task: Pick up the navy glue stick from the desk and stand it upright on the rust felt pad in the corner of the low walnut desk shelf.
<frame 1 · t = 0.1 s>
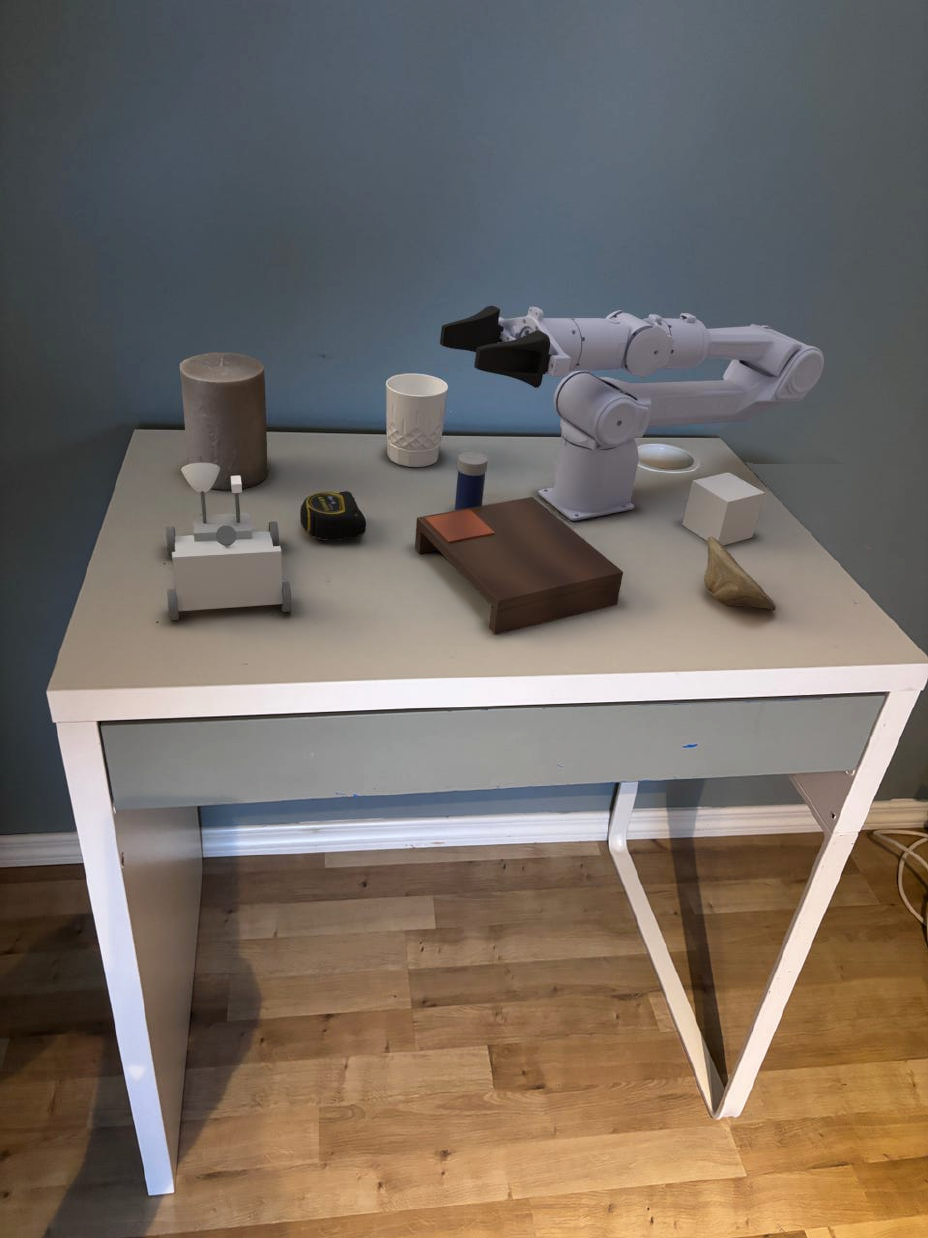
hand: (459, 346, 103), 22 cm above the table, tool horizontal, fingers open, 7 cm apart
pillar candle: (228, 474, 122), on the table
tape measure: (336, 531, 112), on the table
glue stick: (467, 515, 118), on the table
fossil: (732, 601, 106), on the table
toy car: (226, 575, 103), on the table
desk shelf: (512, 575, 107), on the table
white cube: (716, 532, 120), on the table
white cup: (413, 458, 130), on the table
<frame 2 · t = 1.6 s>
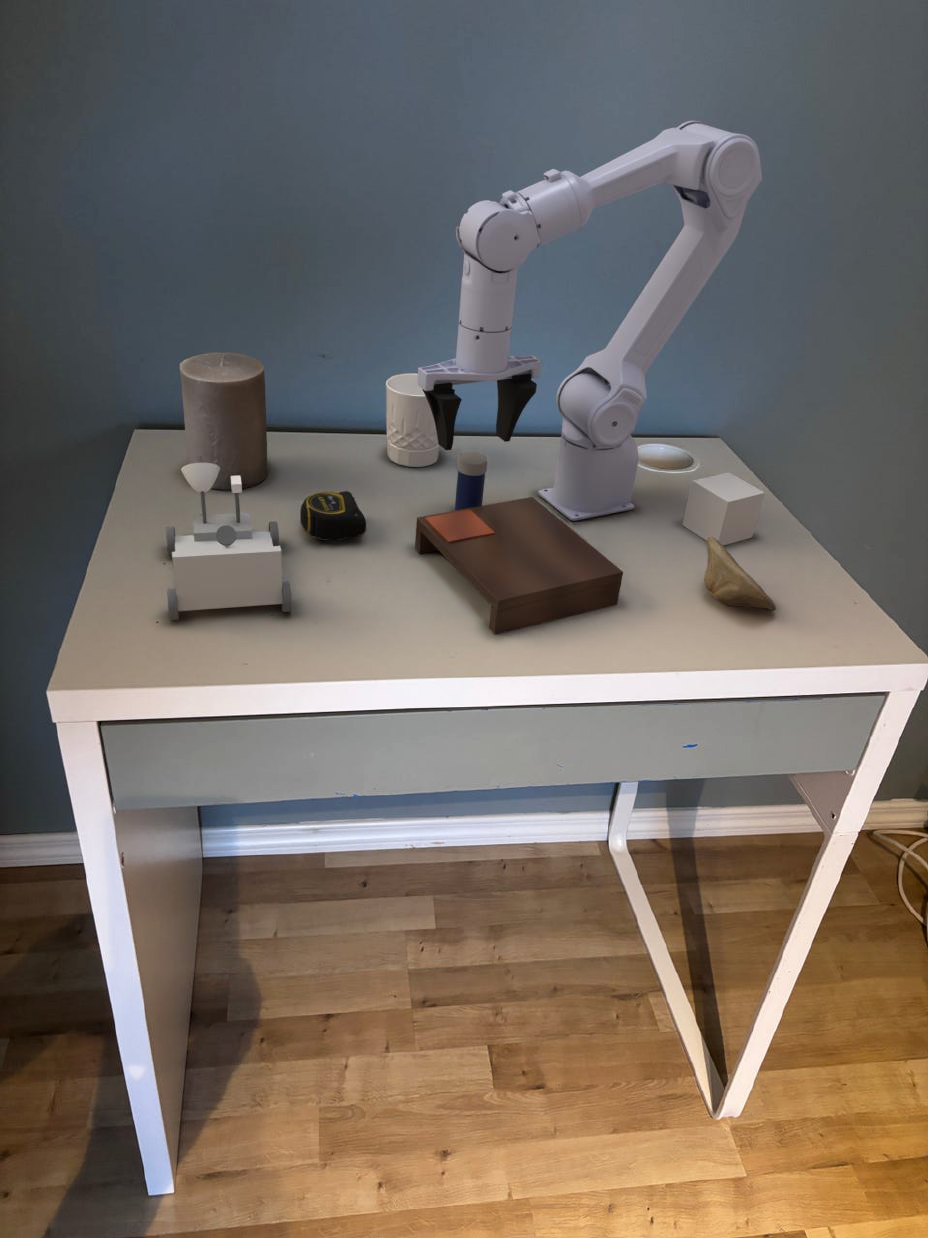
hand: (474, 442, 112), 9 cm above the table, tool pointing down, fingers open, 7 cm apart
nothing on the table moved.
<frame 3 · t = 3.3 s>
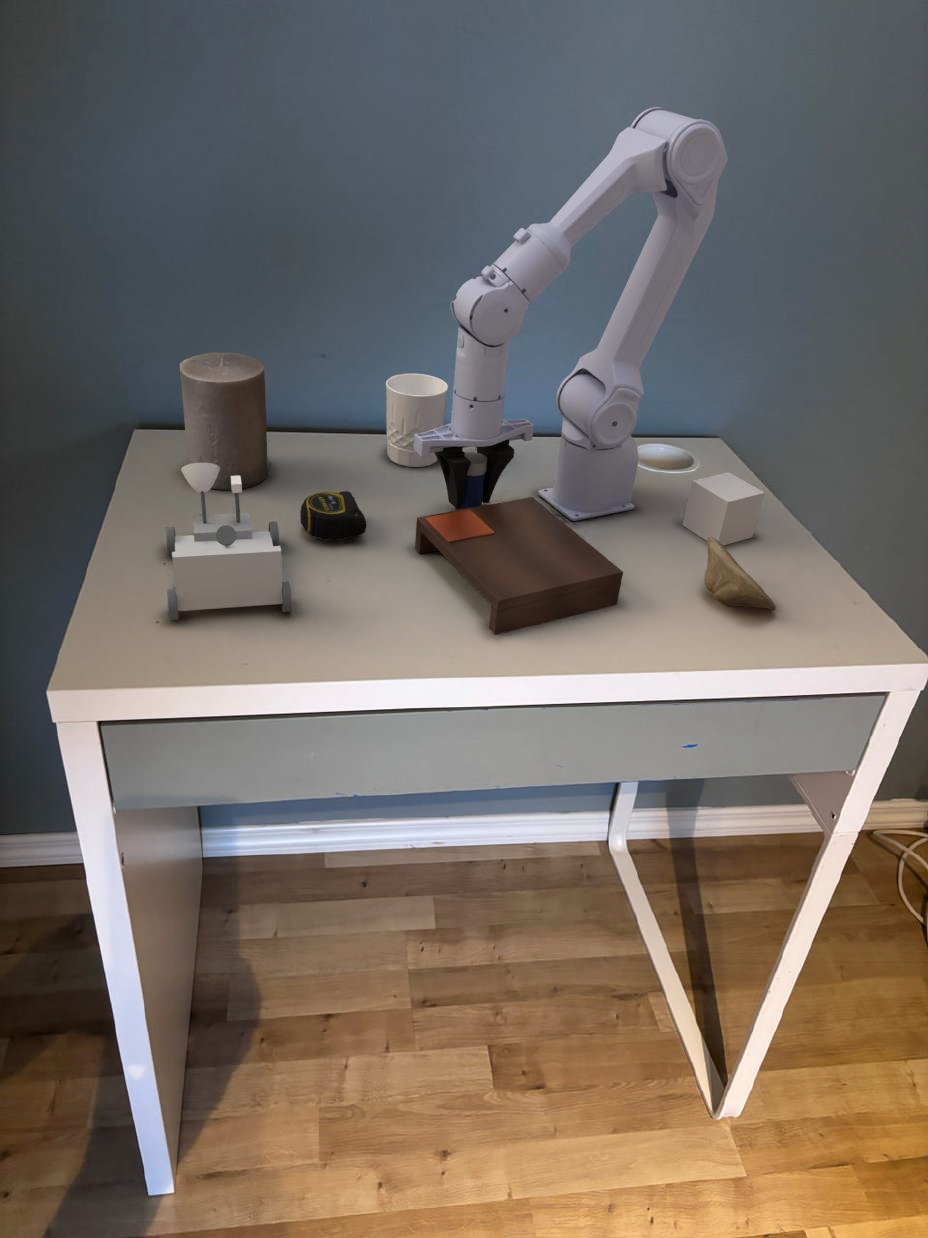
hand: (469, 501, 117), 2 cm above the table, tool pointing down, fingers closed on glue stick, 3 cm apart
glue stick: (467, 515, 118), on the table, touching gripper
everything else where it was.
when the fingers open (6 cm above the table, at t = 6.8 s): glue stick stays where it is, resting on desk shelf.
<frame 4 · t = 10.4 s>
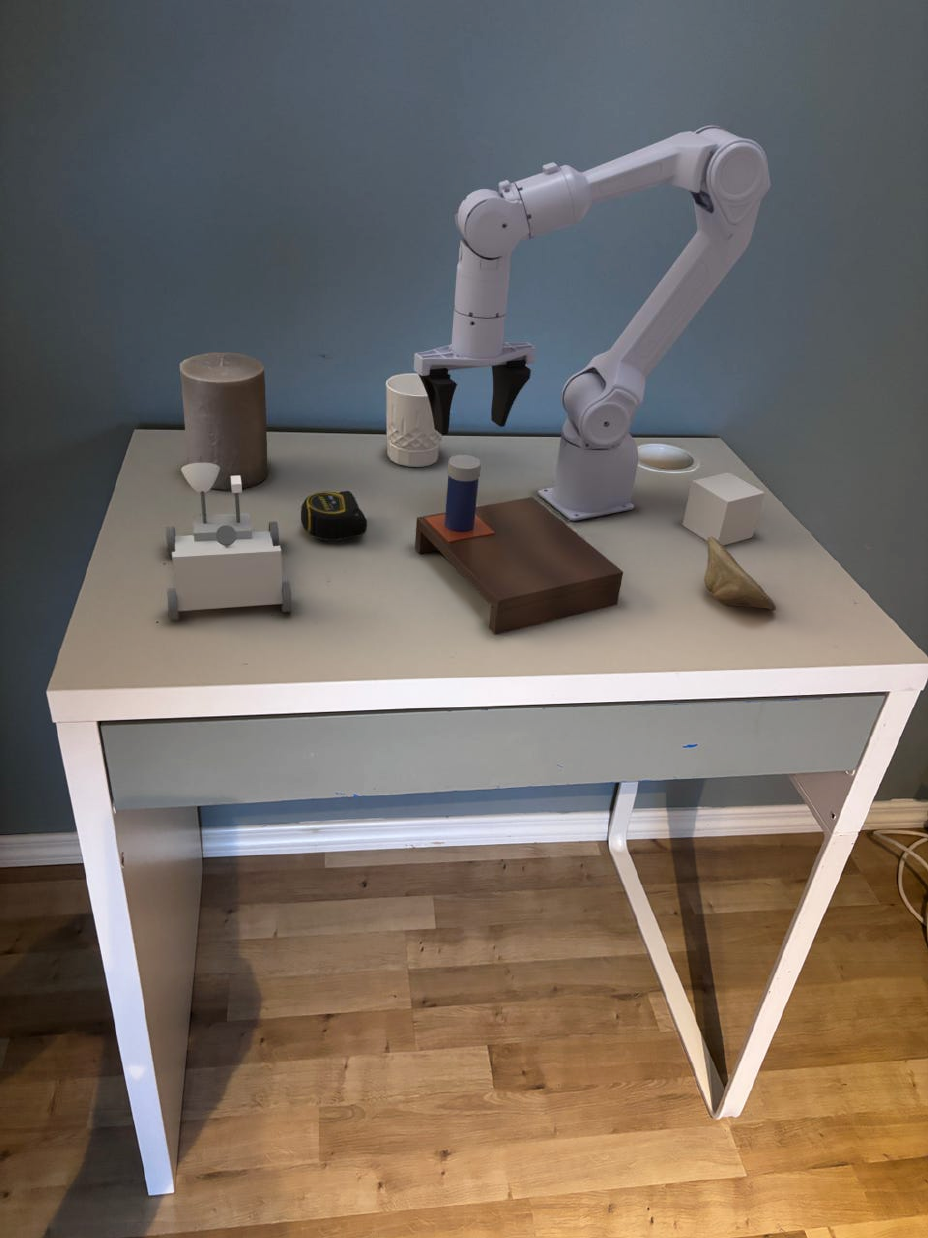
hand: (469, 427, 115), 10 cm above the table, tool pointing down, fingers open, 7 cm apart
glue stick: (459, 524, 107), point 4 cm above the table, touching desk shelf
everything else where it was.
at the end: glue stick 0.7 cm from the target spot, point 4.2 cm above the table; glue stick tilted 0°; the gripper is holding nothing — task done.
